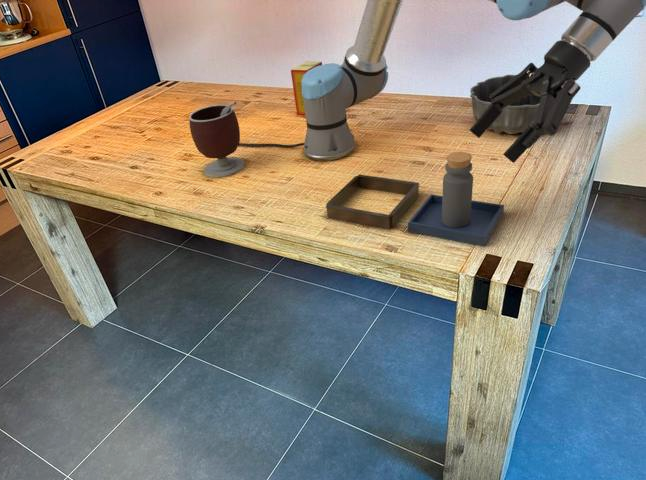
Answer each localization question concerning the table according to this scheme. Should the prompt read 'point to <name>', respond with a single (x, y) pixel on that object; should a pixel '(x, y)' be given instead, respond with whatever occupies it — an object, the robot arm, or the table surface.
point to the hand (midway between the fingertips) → (490, 146)
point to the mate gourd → (217, 138)
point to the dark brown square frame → (369, 217)
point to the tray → (473, 233)
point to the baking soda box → (297, 83)
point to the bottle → (457, 190)
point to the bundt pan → (512, 115)
